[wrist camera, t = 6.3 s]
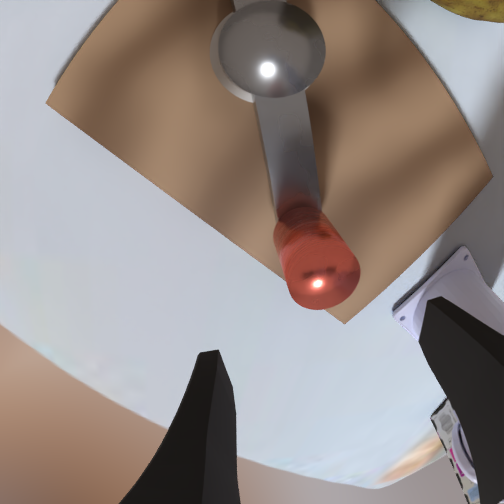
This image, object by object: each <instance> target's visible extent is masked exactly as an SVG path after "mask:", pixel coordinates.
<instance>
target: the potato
mask: <svg viewBox="0 0 504 504" xmlns="http://www.w3.org/2000/svg"><path fill="white" fill-rule="evenodd" d="M431 1H432V2H434V3H436V4H438V5H439V6H441V7H443V8H445V9H446V10H448V11H450V12H453V13H455V14H457V15H460V16H463V17H466V18H469V19H473V20H482V21H490V22H497V23H504V0H431Z"/></svg>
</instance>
